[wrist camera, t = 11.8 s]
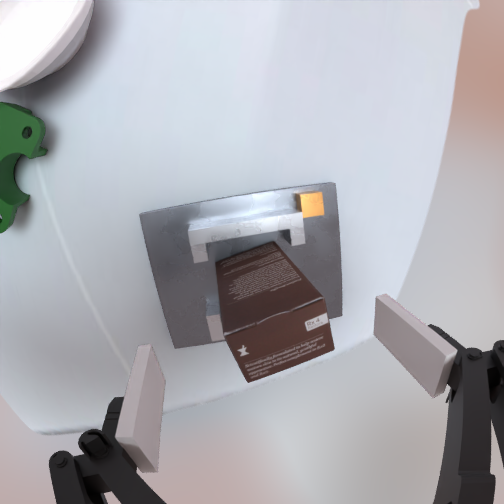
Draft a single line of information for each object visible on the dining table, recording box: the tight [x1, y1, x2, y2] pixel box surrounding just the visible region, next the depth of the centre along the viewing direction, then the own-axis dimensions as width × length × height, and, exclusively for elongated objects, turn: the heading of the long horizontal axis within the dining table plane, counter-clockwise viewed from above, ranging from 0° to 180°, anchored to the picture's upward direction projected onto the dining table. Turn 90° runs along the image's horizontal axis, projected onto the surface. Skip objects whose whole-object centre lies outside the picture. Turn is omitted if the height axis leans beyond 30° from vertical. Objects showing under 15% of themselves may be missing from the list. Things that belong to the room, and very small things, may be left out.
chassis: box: [140, 183, 342, 349], centre depth 27 cm, size 18×14×4 cm
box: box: [215, 241, 335, 383], centre depth 22 cm, size 6×4×12 cm
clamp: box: [0, 102, 47, 233], centre depth 20 cm, size 12×6×9 cm, turn 143°
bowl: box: [0, 0, 94, 92], centre depth 15 cm, size 16×16×8 cm
